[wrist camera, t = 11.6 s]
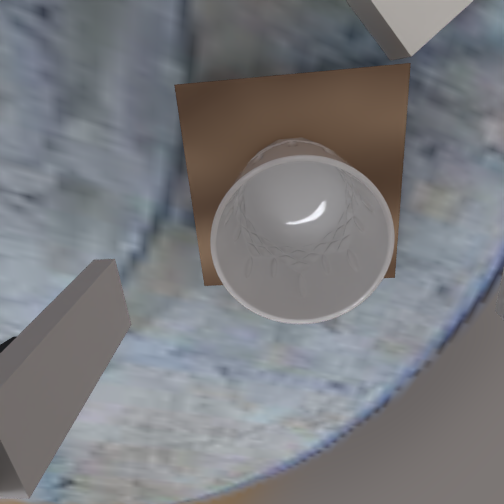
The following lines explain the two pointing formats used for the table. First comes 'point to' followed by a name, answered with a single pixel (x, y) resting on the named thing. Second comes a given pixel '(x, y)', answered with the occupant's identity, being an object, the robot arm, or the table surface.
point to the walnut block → (292, 132)
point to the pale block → (405, 22)
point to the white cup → (301, 234)
